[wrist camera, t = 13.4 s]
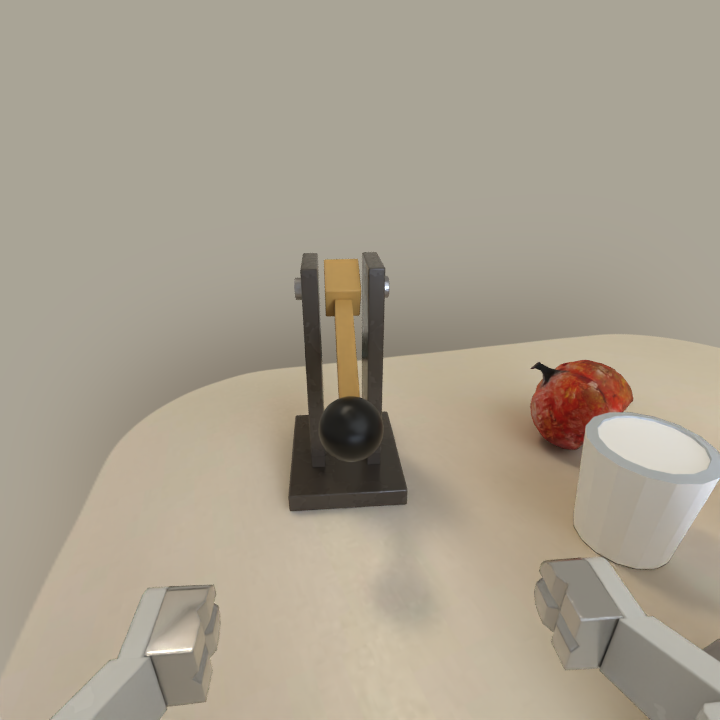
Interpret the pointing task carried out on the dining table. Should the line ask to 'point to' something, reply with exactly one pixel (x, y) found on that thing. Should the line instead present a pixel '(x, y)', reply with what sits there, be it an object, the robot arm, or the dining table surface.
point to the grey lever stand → (309, 458)
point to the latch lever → (347, 372)
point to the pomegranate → (576, 399)
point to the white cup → (641, 487)
